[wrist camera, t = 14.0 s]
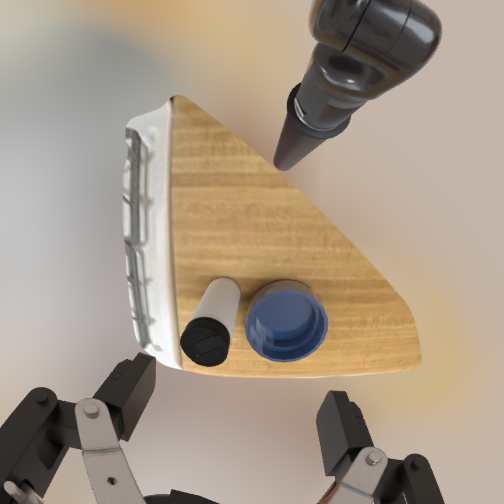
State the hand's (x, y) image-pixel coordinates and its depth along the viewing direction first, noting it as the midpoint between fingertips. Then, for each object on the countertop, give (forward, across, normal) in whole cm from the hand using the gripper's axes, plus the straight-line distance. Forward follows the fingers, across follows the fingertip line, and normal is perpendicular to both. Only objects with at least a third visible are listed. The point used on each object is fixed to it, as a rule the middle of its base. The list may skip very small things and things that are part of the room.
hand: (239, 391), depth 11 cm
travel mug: (+38, +4, +11) cm, 40 cm away
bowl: (+38, -8, +13) cm, 41 cm away
